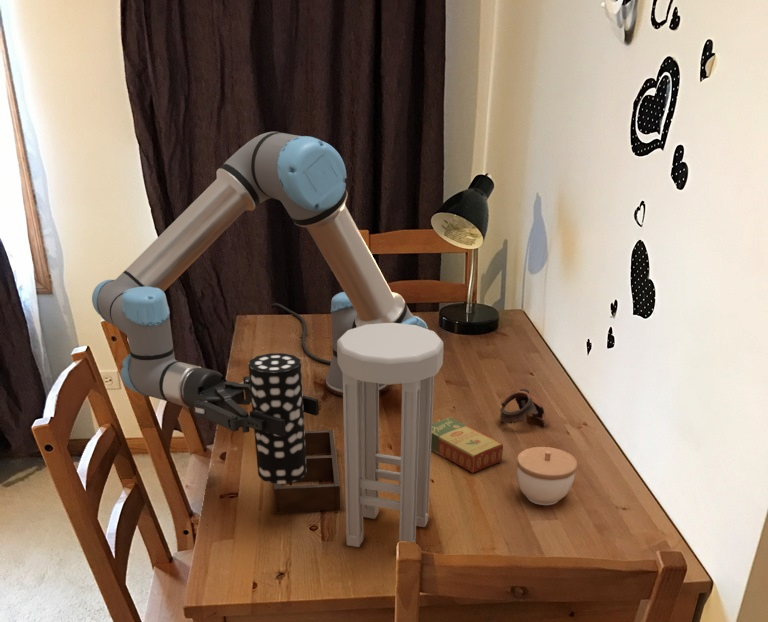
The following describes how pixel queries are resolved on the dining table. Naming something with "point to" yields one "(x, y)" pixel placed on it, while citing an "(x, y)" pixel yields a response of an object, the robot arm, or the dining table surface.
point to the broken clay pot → (522, 407)
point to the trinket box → (545, 474)
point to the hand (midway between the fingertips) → (301, 417)
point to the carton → (464, 445)
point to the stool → (360, 404)
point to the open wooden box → (313, 478)
